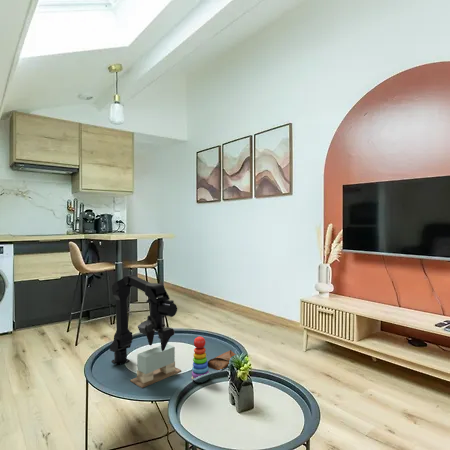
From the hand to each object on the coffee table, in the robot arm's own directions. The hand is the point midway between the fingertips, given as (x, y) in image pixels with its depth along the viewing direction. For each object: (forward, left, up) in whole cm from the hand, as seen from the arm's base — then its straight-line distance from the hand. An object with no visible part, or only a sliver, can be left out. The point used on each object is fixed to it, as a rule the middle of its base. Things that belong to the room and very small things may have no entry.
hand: (156, 347), depth 148 cm
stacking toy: (+17, +11, -13) cm, 24 cm away
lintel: (0, 0, -8) cm, 8 cm away
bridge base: (0, 0, -13) cm, 13 cm away
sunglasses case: (+13, +31, -13) cm, 36 cm away
